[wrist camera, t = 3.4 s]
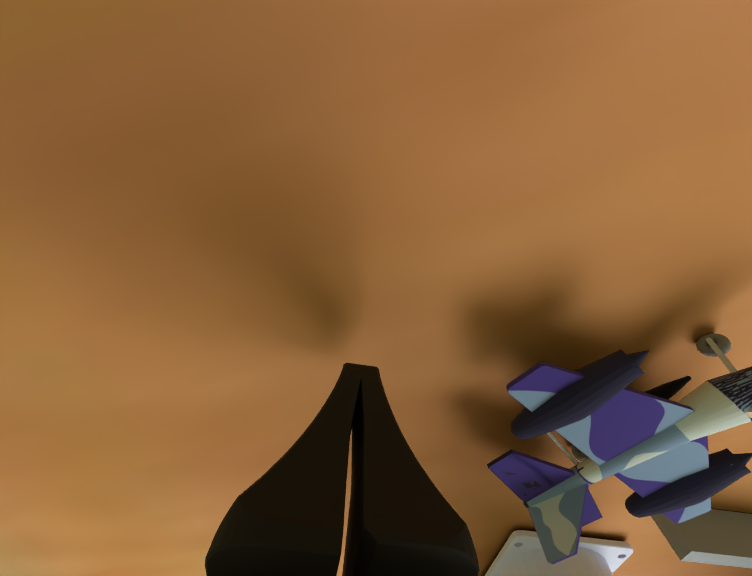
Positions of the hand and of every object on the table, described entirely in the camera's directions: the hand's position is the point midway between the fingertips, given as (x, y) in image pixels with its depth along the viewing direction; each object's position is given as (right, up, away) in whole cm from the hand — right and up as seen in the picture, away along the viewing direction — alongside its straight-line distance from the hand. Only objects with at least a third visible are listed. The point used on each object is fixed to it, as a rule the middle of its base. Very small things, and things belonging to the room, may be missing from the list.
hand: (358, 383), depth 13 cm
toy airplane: (+12, -1, +3) cm, 13 cm away
